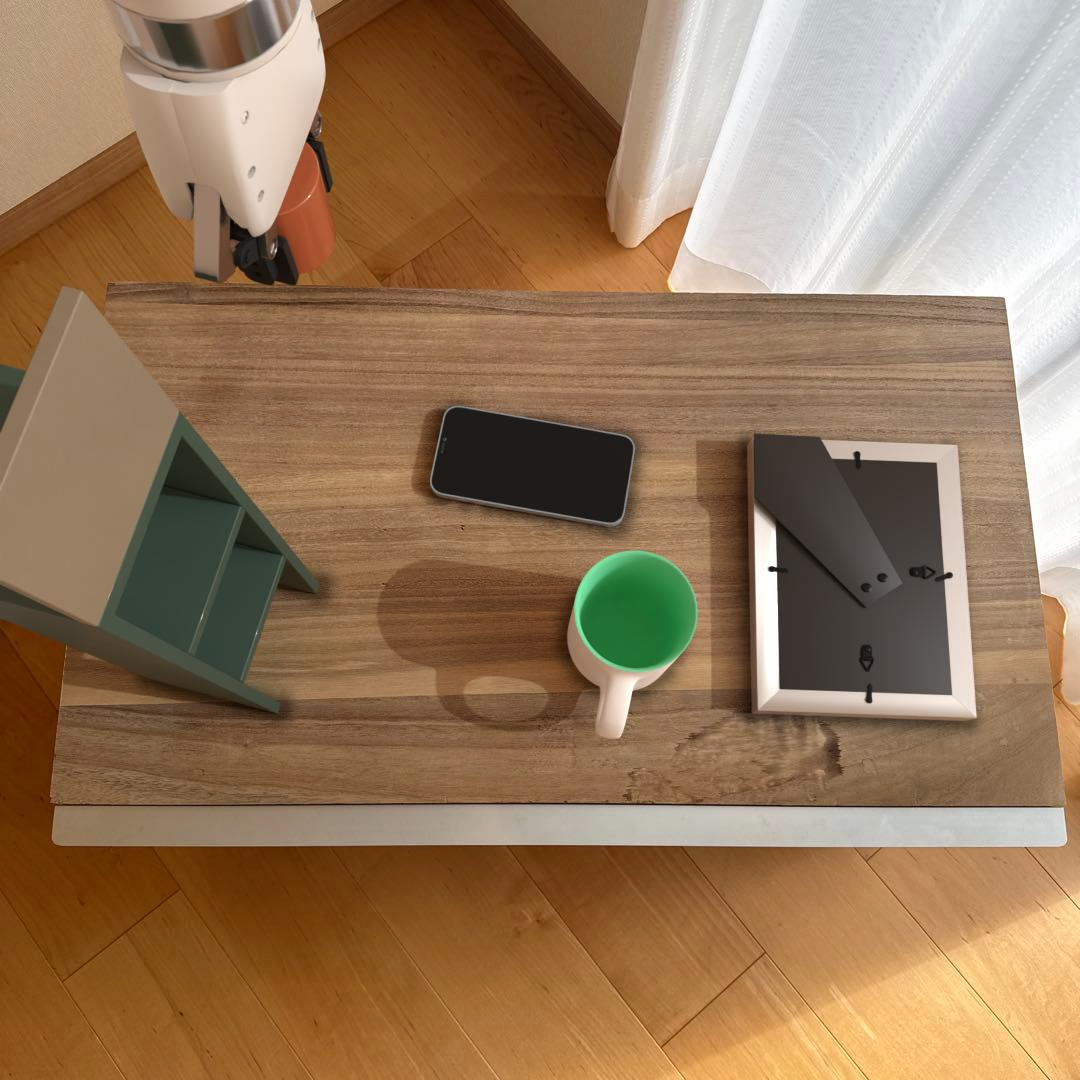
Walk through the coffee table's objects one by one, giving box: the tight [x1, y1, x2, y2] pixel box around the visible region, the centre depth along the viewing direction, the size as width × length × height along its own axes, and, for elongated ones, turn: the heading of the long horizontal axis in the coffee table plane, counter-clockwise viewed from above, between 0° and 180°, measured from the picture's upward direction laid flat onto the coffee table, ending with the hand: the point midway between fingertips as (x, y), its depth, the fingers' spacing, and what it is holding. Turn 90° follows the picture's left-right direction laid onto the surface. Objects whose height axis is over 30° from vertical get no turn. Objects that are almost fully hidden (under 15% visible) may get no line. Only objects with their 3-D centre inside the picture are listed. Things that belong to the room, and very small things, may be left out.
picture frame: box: [746, 433, 978, 722], centre depth 81 cm, size 16×3×21 cm
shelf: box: [0, 285, 321, 715], centre depth 58 cm, size 10×10×46 cm
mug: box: [566, 550, 699, 740], centre depth 75 cm, size 12×8×10 cm, turn 172°
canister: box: [234, 141, 337, 276], centre depth 57 cm, size 5×5×6 cm
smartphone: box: [429, 405, 636, 528], centre depth 84 cm, size 7×1×15 cm
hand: (287, 226), depth 59 cm, fingers closed on canister, 5 cm apart
